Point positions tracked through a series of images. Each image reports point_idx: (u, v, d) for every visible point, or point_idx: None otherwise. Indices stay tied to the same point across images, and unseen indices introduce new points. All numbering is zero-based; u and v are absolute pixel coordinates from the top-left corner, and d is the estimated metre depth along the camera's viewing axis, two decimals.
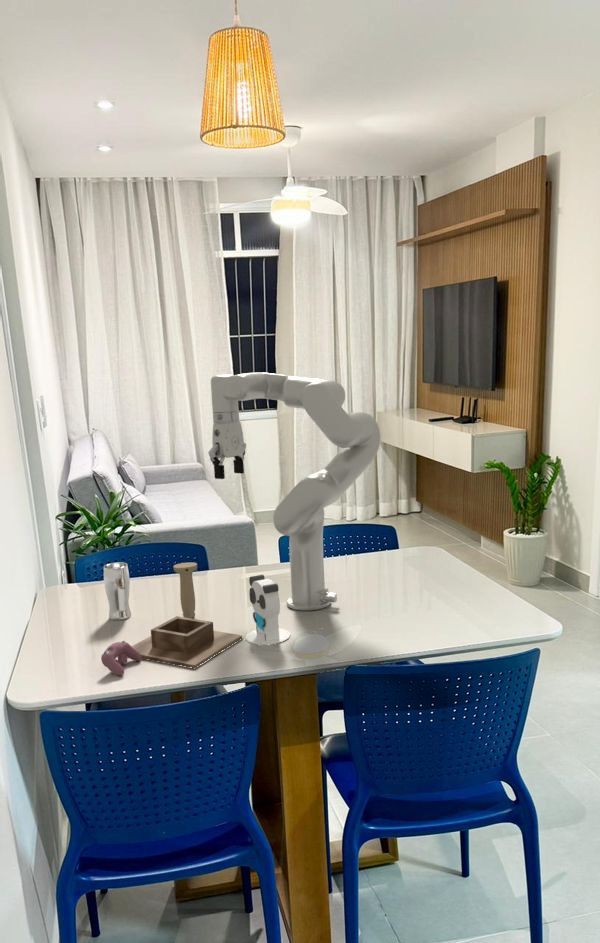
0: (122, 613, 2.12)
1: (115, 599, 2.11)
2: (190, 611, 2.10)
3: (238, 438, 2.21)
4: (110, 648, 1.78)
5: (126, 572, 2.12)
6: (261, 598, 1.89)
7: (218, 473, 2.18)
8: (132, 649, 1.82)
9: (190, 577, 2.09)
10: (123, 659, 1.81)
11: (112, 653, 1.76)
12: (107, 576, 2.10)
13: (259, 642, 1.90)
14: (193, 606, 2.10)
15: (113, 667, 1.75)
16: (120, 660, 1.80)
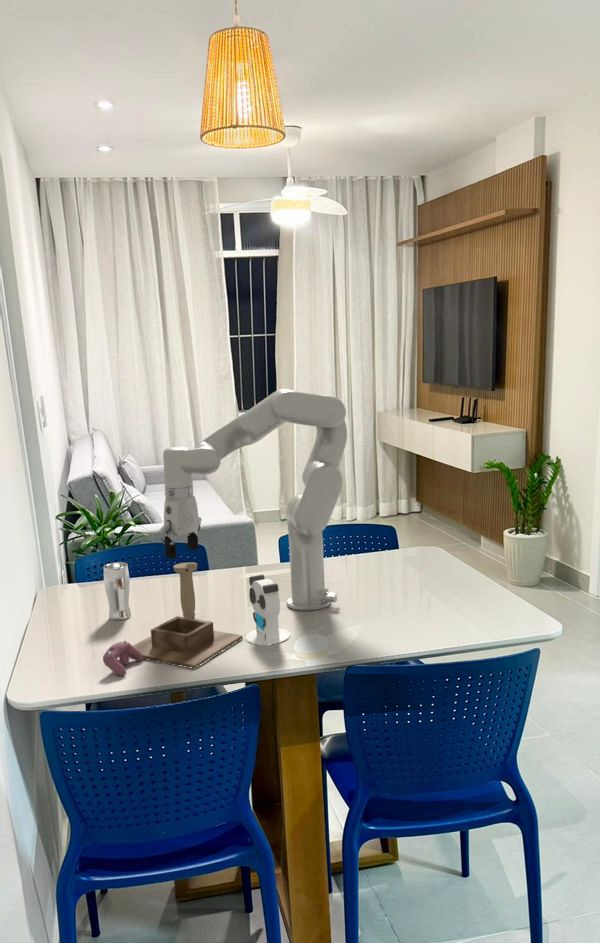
0: (122, 613, 2.12)
1: (115, 599, 2.11)
2: (190, 611, 2.10)
3: (191, 514, 2.07)
4: (112, 648, 1.78)
5: (126, 572, 2.12)
6: (261, 598, 1.89)
7: (169, 553, 2.03)
8: (134, 649, 1.82)
9: (190, 577, 2.09)
10: (125, 659, 1.81)
11: (114, 653, 1.76)
12: (107, 576, 2.10)
13: (259, 642, 1.90)
14: (193, 606, 2.10)
15: (115, 667, 1.75)
16: (122, 660, 1.80)
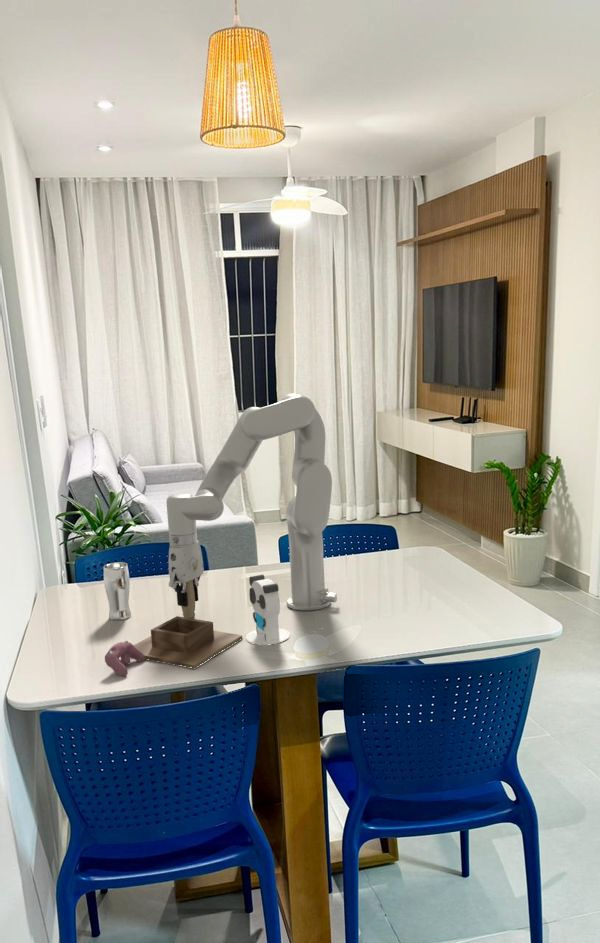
0: (122, 613, 2.12)
1: (115, 599, 2.11)
2: (190, 611, 2.10)
3: (196, 560, 2.09)
4: (113, 648, 1.78)
5: (126, 572, 2.12)
6: (261, 598, 1.89)
7: (181, 601, 2.08)
8: (135, 649, 1.82)
9: None
10: (126, 659, 1.81)
11: (115, 653, 1.76)
12: (107, 576, 2.10)
13: (259, 642, 1.90)
14: (193, 606, 2.10)
15: (117, 667, 1.74)
16: (123, 660, 1.80)
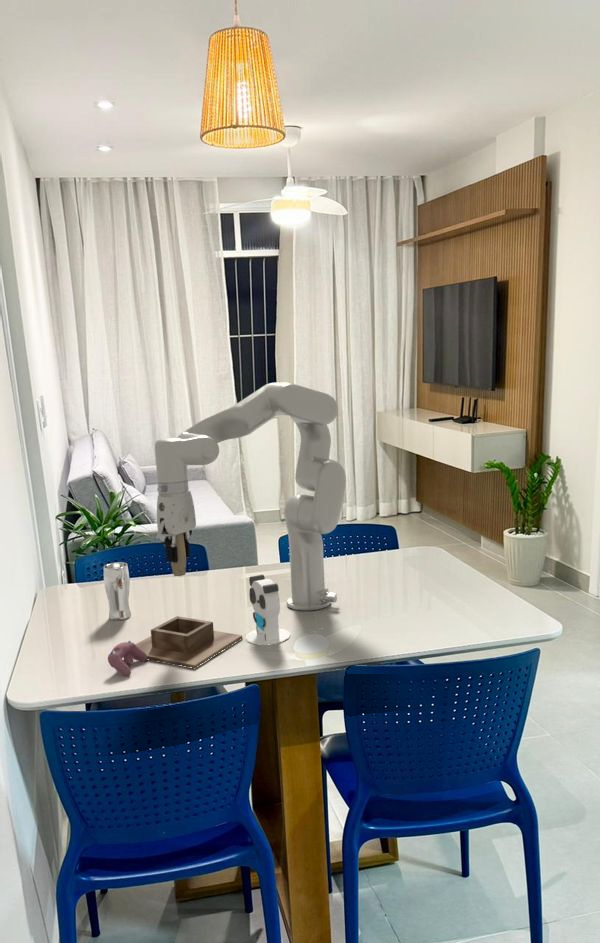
0: (122, 613, 2.12)
1: (115, 599, 2.11)
2: (180, 568, 1.91)
3: (187, 511, 1.90)
4: (116, 648, 1.78)
5: (126, 572, 2.12)
6: (261, 598, 1.89)
7: (170, 556, 1.89)
8: (138, 649, 1.82)
9: None
10: (129, 659, 1.81)
11: (119, 653, 1.76)
12: (107, 576, 2.10)
13: (259, 642, 1.90)
14: (184, 562, 1.91)
15: (120, 667, 1.74)
16: (126, 660, 1.80)
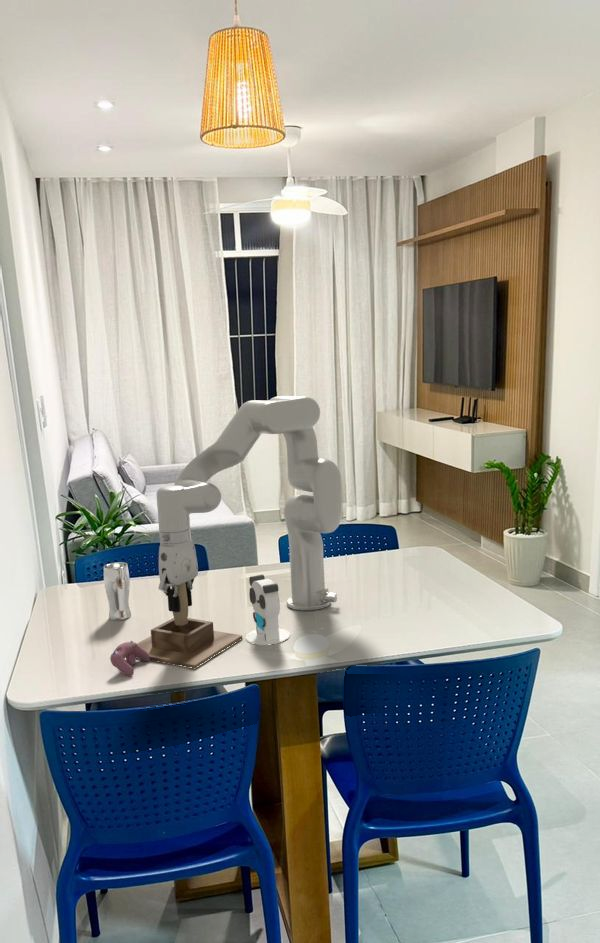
0: (122, 613, 2.12)
1: (115, 599, 2.11)
2: (182, 617, 1.88)
3: (189, 560, 1.87)
4: (119, 648, 1.77)
5: (126, 572, 2.12)
6: (261, 598, 1.89)
7: (172, 606, 1.86)
8: (140, 649, 1.82)
9: None
10: (131, 659, 1.80)
11: (121, 653, 1.76)
12: (107, 576, 2.10)
13: (259, 642, 1.90)
14: (186, 612, 1.88)
15: (123, 667, 1.74)
16: (128, 660, 1.80)
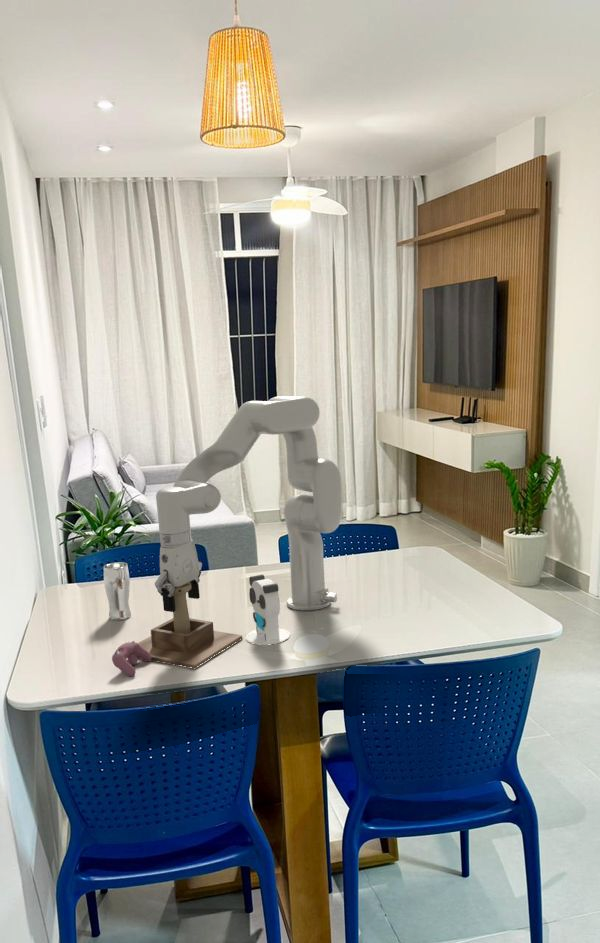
0: (122, 613, 2.12)
1: (115, 599, 2.11)
2: None
3: (190, 561, 1.87)
4: (121, 648, 1.77)
5: (126, 572, 2.12)
6: (261, 598, 1.89)
7: (167, 605, 1.84)
8: (142, 649, 1.82)
9: (184, 598, 1.88)
10: (133, 659, 1.80)
11: (123, 653, 1.76)
12: (107, 576, 2.10)
13: (259, 642, 1.90)
14: (188, 630, 1.89)
15: (124, 667, 1.74)
16: (130, 660, 1.80)
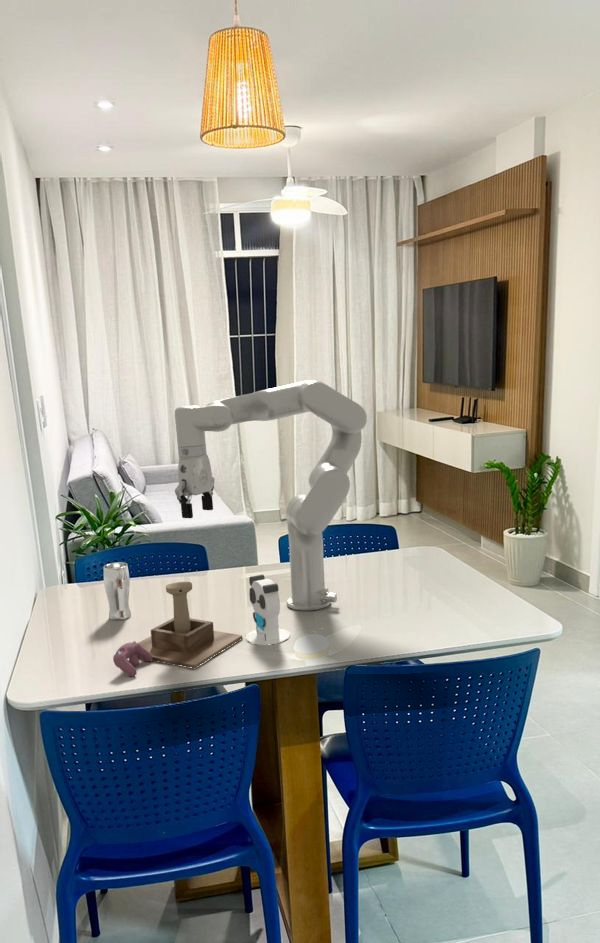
0: (122, 613, 2.12)
1: (115, 599, 2.11)
2: None
3: (206, 473, 2.06)
4: (122, 649, 1.77)
5: (126, 572, 2.12)
6: (261, 598, 1.89)
7: (186, 512, 2.02)
8: (143, 649, 1.82)
9: (184, 598, 1.88)
10: (134, 659, 1.80)
11: (124, 654, 1.75)
12: (107, 576, 2.10)
13: (259, 642, 1.90)
14: (188, 630, 1.89)
15: (125, 668, 1.74)
16: (131, 661, 1.79)
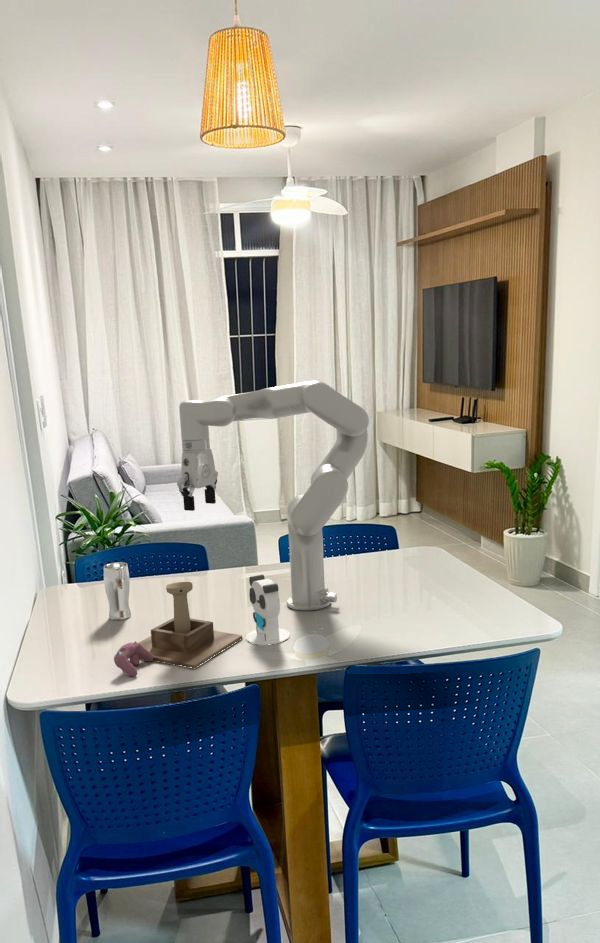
0: (122, 613, 2.12)
1: (115, 599, 2.11)
2: None
3: (208, 467, 2.09)
4: (122, 649, 1.77)
5: (126, 572, 2.12)
6: (261, 598, 1.89)
7: (188, 505, 2.06)
8: (144, 650, 1.82)
9: (185, 598, 1.88)
10: (135, 660, 1.80)
11: (125, 654, 1.75)
12: (107, 576, 2.10)
13: (259, 642, 1.90)
14: (188, 630, 1.89)
15: (126, 668, 1.74)
16: (132, 661, 1.79)
